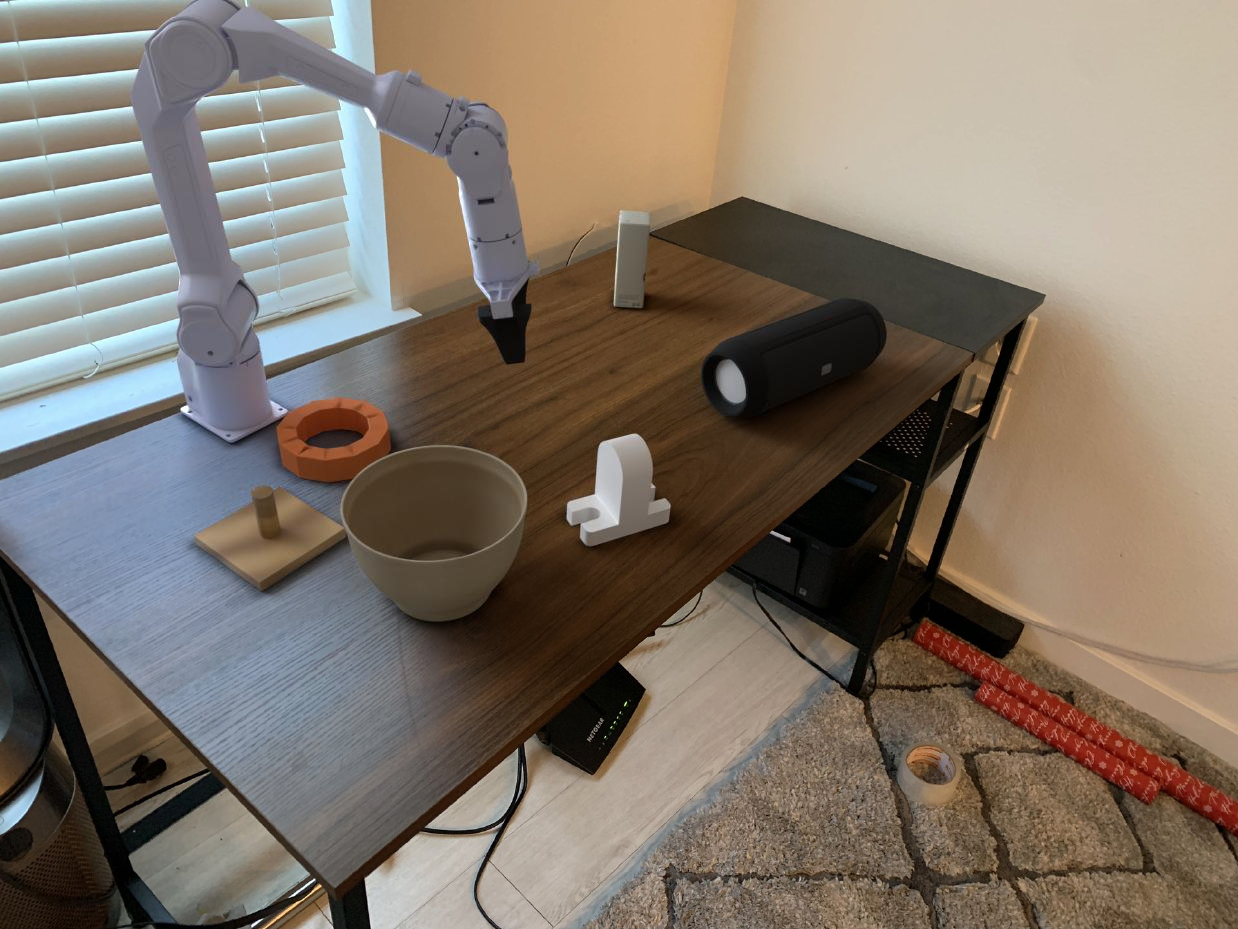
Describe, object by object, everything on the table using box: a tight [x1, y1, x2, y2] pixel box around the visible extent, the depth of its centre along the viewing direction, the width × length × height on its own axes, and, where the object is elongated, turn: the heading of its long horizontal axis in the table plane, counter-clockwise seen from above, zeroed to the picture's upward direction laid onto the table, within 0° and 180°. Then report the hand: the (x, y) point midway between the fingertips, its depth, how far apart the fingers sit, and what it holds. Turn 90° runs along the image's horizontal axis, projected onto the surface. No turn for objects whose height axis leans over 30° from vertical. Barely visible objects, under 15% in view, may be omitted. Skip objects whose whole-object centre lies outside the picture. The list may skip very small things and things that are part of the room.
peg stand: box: [193, 485, 347, 592], centre depth 91 cm, size 10×10×6 cm
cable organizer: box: [566, 433, 671, 547], centre depth 96 cm, size 5×10×10 cm, turn 119°
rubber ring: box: [275, 397, 392, 483], centre depth 104 cm, size 12×12×3 cm
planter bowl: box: [340, 444, 528, 623], centre depth 86 cm, size 16×16×11 cm
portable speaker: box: [700, 297, 888, 419], centre depth 119 cm, size 26×10×10 cm, turn 129°
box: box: [613, 209, 651, 309], centre depth 135 cm, size 5×4×13 cm
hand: (515, 344), depth 105 cm, fingers open, 7 cm apart
